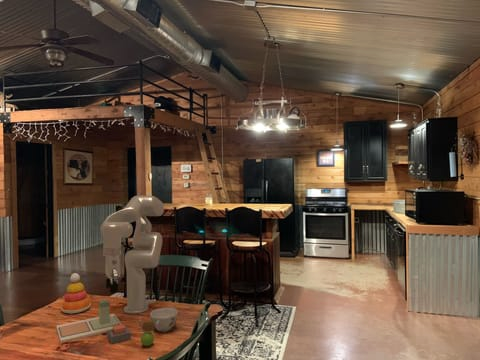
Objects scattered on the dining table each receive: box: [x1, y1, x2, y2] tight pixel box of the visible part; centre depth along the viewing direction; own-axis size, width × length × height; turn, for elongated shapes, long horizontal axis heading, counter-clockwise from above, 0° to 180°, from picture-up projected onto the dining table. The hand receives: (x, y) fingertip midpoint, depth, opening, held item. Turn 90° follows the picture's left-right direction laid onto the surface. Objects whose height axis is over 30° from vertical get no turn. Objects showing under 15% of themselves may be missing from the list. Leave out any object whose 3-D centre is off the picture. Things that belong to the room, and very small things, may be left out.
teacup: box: [149, 307, 179, 332], centre depth 161 cm, size 15×12×8 cm
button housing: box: [106, 325, 132, 345], centre depth 154 cm, size 8×8×3 cm
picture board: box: [56, 313, 122, 344], centre depth 164 cm, size 26×18×1 cm
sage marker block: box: [98, 299, 110, 325], centre depth 168 cm, size 4×4×10 cm
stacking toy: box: [60, 272, 92, 315], centre depth 187 cm, size 14×14×20 cm
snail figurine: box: [138, 316, 155, 347], centre depth 147 cm, size 5×6×12 cm
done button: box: [113, 323, 126, 335], centre depth 154 cm, size 4×4×3 cm
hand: (111, 290), depth 157 cm, fingers open, 9 cm apart
